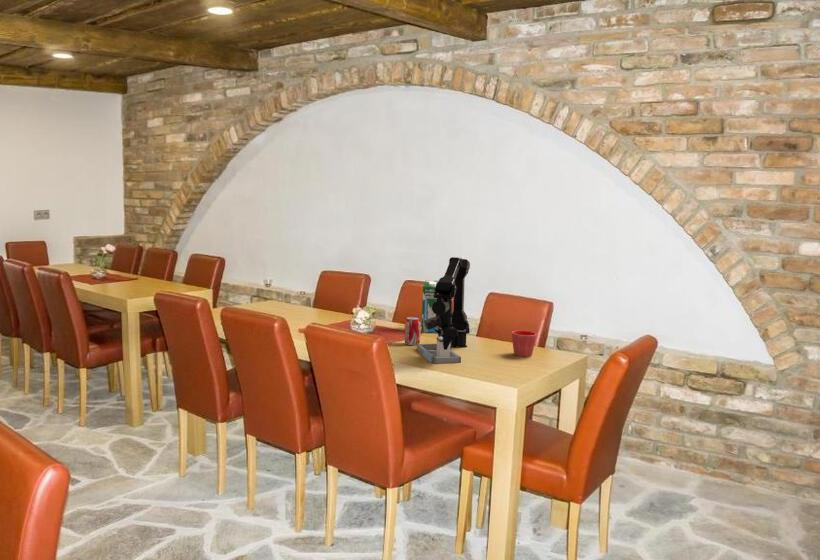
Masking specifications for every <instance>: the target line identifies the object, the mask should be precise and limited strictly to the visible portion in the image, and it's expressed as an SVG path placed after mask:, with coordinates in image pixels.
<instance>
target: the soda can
mask: <svg viewBox="0 0 820 560" xmlns="http://www.w3.org/2000/svg"><path fill="white" fill-rule="evenodd" d="M404 323H405V324H404V344H406V345H407V344H408V346H417V344H421V330H422V322H421V321H420V318H419V317H415V316H408V317H406V320H405V322H404Z"/></svg>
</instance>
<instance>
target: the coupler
mask: <svg viewBox="0 0 820 560" xmlns="http://www.w3.org/2000/svg"><path fill="white" fill-rule="evenodd" d="M436 344H437V349H436V350H437V354H436V356H435V357H450V349H451V345H450V344H449V346H448V348H447V350H444V346H443V338H442V337H438V336H437V337H436Z"/></svg>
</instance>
